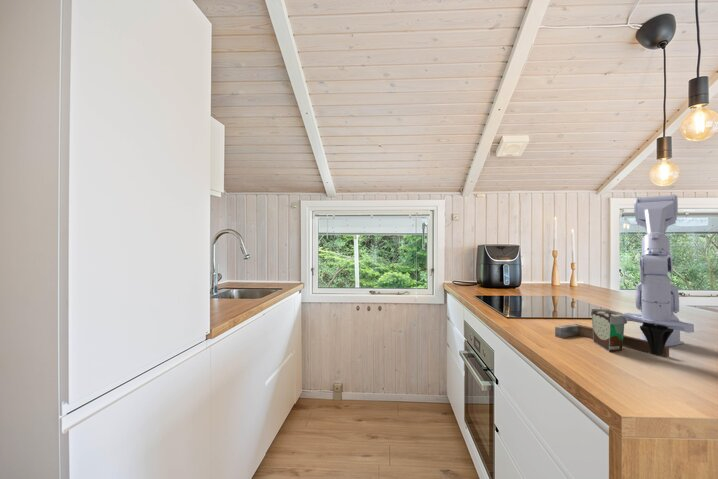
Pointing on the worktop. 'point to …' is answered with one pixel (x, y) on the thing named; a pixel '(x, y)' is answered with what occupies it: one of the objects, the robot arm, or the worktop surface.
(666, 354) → the rail
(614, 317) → the food container
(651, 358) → the worktop surface
